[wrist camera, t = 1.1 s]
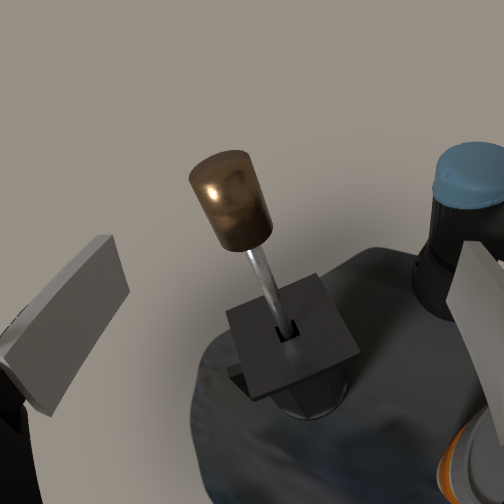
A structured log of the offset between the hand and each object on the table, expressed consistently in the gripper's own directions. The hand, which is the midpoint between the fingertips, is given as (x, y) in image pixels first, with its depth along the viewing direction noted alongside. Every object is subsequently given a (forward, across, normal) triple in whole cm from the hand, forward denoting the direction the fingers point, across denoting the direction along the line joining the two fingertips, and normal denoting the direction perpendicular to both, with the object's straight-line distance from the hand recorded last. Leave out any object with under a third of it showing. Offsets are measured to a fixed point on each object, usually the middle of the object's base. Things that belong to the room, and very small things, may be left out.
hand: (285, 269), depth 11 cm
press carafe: (+17, +2, -31) cm, 35 cm away
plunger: (+14, 0, -19) cm, 23 cm away
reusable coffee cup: (+2, +24, -31) cm, 39 cm away
